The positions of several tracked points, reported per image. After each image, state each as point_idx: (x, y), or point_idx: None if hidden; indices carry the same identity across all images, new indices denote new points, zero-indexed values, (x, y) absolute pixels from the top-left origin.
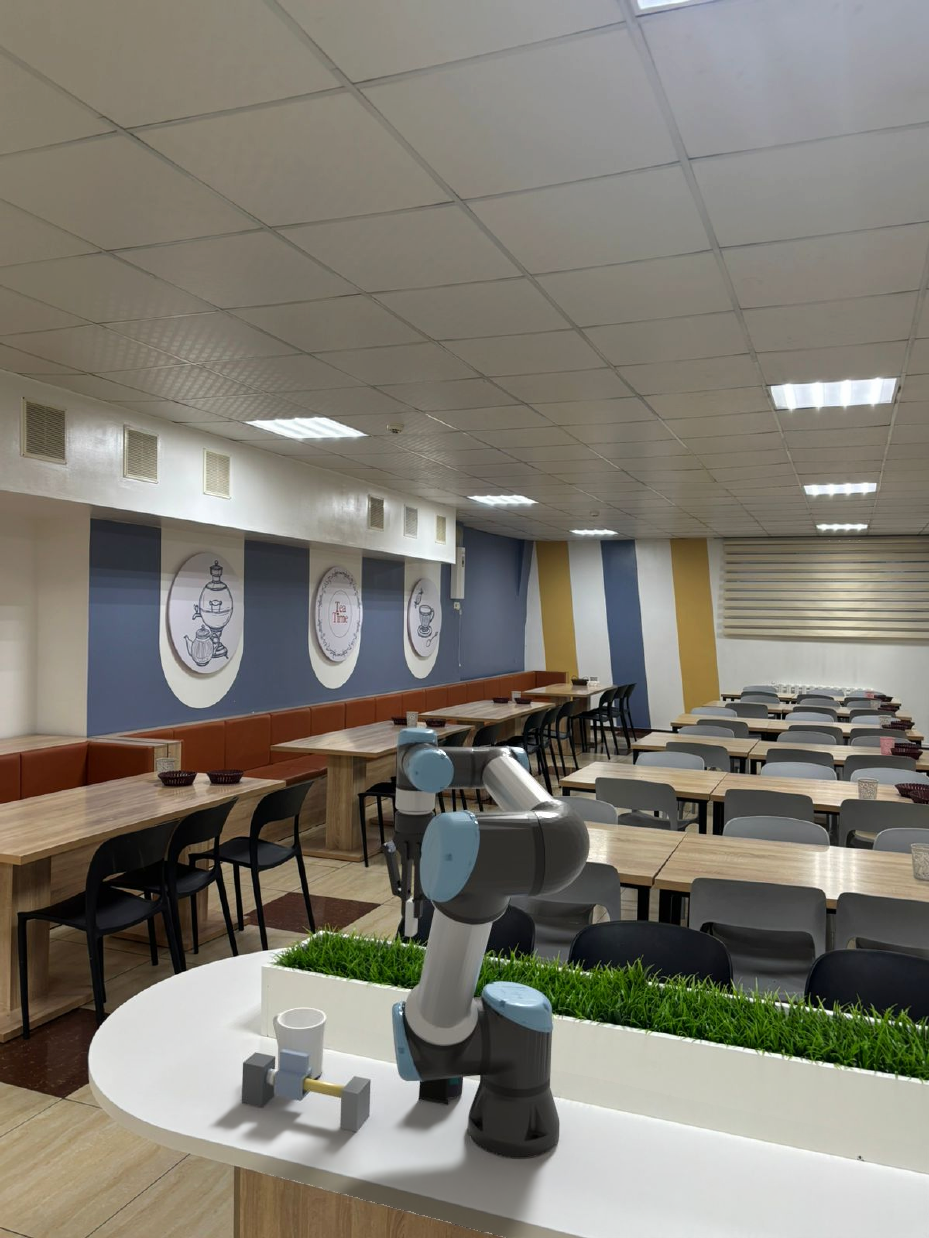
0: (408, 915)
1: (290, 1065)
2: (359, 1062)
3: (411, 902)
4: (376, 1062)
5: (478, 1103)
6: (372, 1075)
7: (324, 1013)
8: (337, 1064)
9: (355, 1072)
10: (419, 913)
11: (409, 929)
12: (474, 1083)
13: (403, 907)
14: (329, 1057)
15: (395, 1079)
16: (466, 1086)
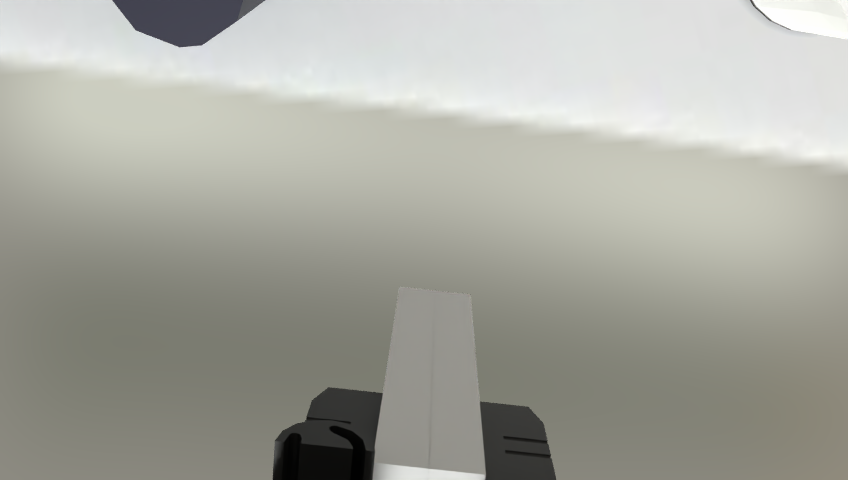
0: (439, 376)
1: None
2: (613, 93)
3: (399, 462)
4: (549, 111)
5: None
6: (537, 10)
7: (845, 12)
8: (693, 55)
9: (608, 14)
10: (312, 416)
11: (424, 312)
12: (154, 58)
13: (521, 458)
14: (738, 99)
15: (444, 5)
16: None
